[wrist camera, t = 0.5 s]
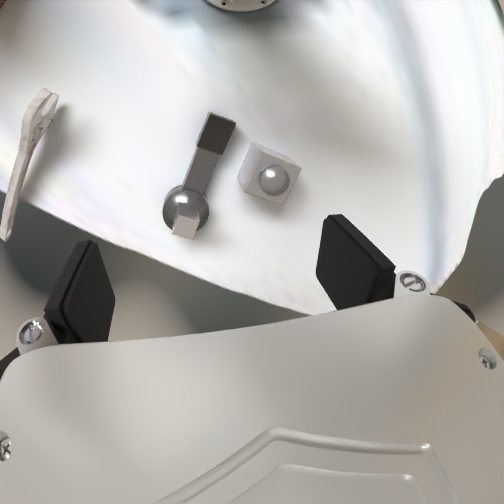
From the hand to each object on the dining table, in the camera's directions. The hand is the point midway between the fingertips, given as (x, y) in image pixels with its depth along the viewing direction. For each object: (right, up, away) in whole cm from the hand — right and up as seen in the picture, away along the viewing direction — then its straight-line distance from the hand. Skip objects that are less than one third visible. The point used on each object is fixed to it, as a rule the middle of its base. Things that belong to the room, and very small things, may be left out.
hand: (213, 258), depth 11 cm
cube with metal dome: (+3, +14, +31) cm, 34 cm away
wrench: (-35, +14, +21) cm, 44 cm away
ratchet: (-7, +12, +29) cm, 32 cm away
